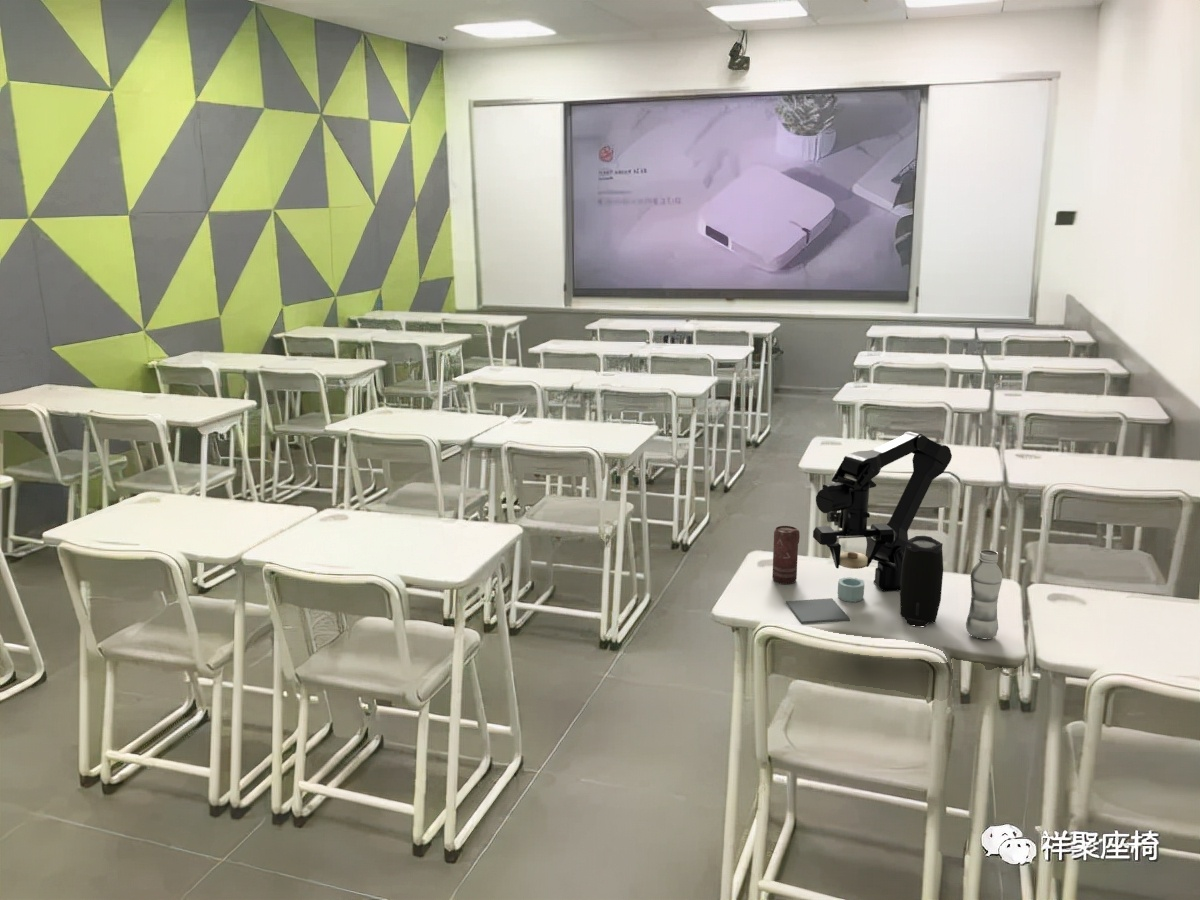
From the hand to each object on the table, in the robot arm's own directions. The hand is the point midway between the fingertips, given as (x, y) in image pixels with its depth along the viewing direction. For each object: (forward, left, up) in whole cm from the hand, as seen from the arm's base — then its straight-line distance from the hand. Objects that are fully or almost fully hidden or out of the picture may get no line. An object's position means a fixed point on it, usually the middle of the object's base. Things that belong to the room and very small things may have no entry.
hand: (851, 567), depth 231 cm
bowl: (0, 0, -8) cm, 8 cm away
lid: (0, 0, +1) cm, 1 cm away
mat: (+11, +7, -8) cm, 15 cm away
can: (+12, -13, -8) cm, 20 cm away
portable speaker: (-11, +15, -8) cm, 20 cm away
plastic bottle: (-21, +25, -8) cm, 33 cm away
